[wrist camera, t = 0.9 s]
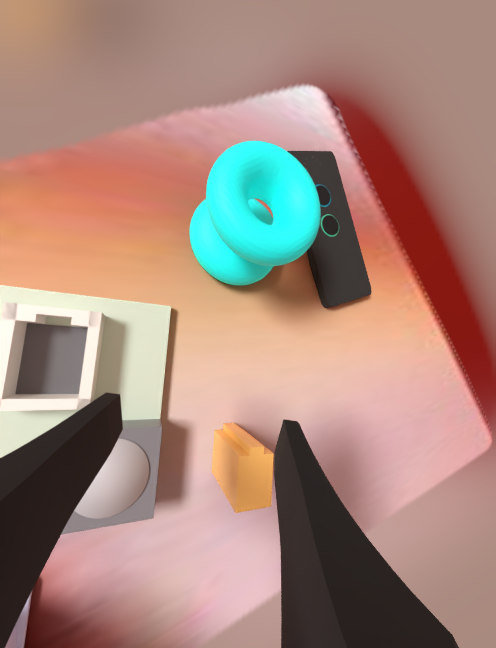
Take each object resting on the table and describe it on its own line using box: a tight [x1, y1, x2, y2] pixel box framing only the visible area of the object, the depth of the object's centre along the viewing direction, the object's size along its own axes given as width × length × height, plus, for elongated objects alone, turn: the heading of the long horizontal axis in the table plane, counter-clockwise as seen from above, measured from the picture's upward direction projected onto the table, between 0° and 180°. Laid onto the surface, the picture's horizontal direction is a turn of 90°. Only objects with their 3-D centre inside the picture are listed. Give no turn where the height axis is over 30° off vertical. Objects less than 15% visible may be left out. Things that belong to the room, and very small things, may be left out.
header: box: [0, 302, 105, 411], centre depth 20 cm, size 8×6×2 cm
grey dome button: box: [61, 419, 162, 534], centre depth 20 cm, size 7×7×3 cm
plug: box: [212, 423, 274, 513], centre depth 23 cm, size 5×3×7 cm, turn 177°
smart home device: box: [287, 151, 371, 308], centre depth 34 cm, size 8×2×20 cm
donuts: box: [190, 141, 321, 285], centre depth 24 cm, size 10×10×10 cm
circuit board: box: [0, 285, 171, 458], centre depth 21 cm, size 18×14×1 cm
